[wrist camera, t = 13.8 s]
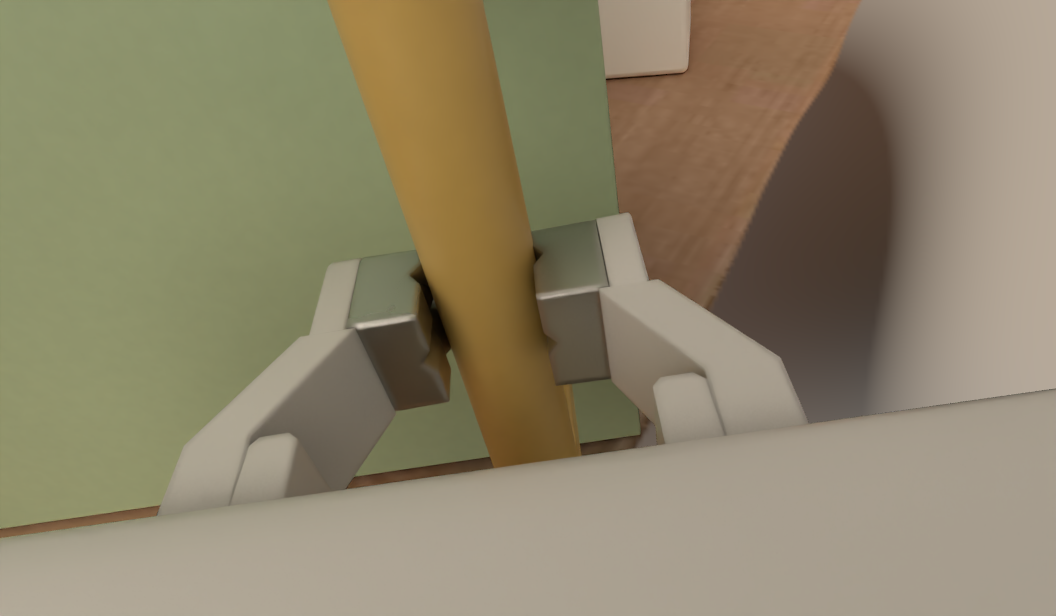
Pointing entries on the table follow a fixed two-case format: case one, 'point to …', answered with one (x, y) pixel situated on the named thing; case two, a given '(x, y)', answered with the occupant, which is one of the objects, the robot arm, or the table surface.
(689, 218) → the table surface
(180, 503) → the robot arm
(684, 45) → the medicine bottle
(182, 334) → the cupboard door
